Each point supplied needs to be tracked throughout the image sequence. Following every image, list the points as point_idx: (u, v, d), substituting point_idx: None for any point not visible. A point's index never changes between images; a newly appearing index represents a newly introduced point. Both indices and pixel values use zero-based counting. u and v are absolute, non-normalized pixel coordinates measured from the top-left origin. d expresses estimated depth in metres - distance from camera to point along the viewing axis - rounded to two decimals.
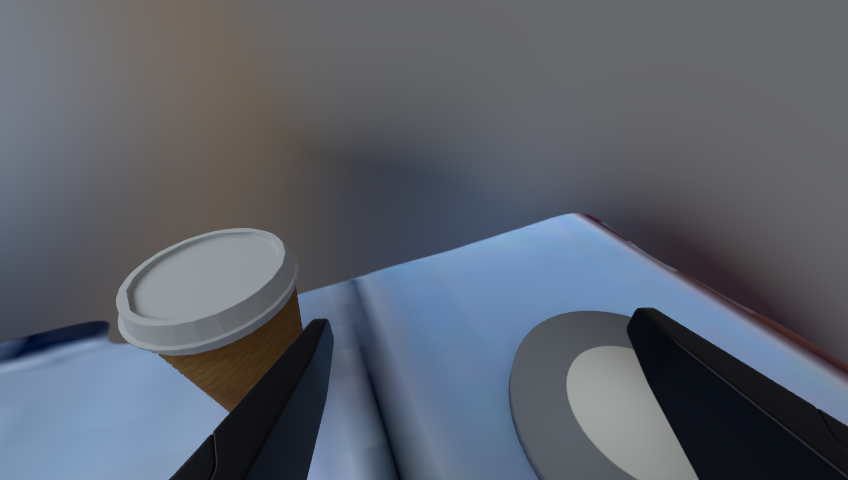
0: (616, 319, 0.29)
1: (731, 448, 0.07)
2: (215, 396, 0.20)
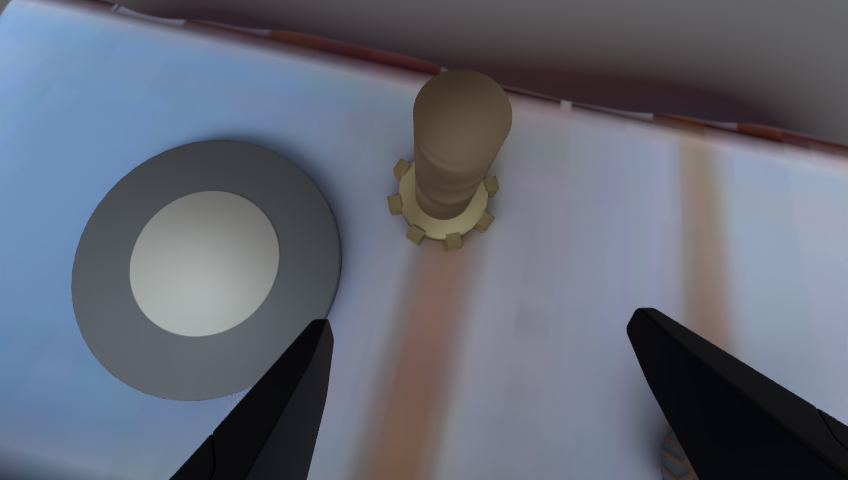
0: (145, 172, 0.23)
1: (731, 448, 0.07)
2: None
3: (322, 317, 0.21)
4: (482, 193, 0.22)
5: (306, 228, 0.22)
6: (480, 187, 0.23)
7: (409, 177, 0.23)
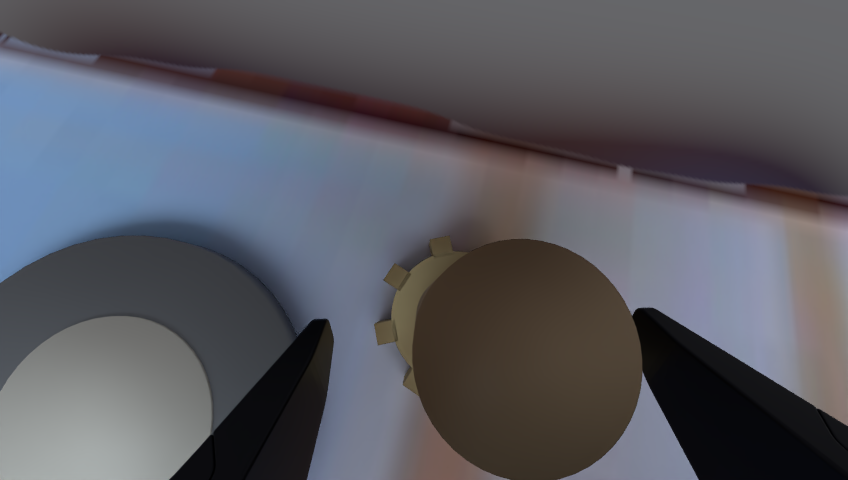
0: (19, 286, 0.15)
1: (731, 448, 0.07)
2: None
3: None
4: None
5: (254, 372, 0.15)
6: None
7: (407, 293, 0.15)
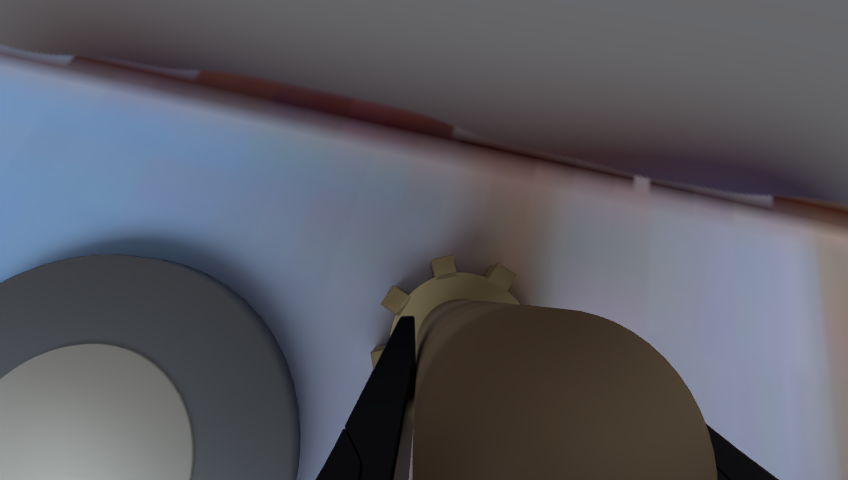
0: None
1: None
2: None
3: None
4: None
5: (239, 406, 0.14)
6: None
7: None
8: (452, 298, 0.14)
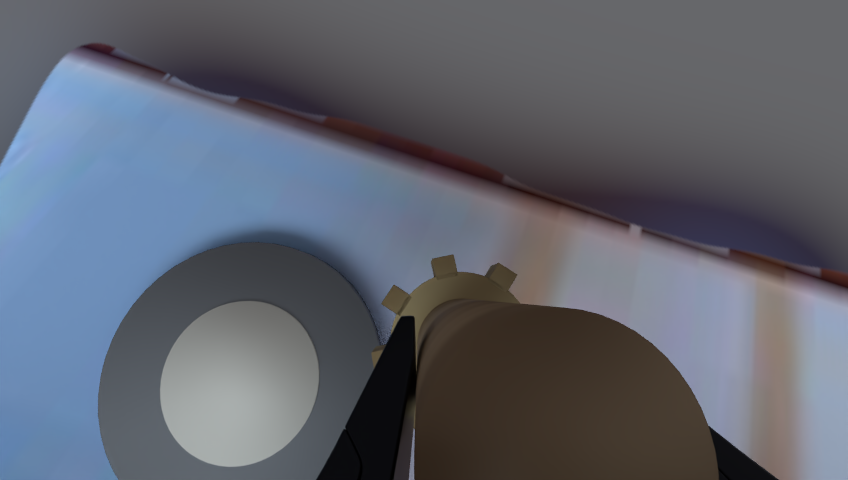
0: (184, 272, 0.21)
1: None
2: None
3: None
4: None
5: (349, 352, 0.21)
6: None
7: None
8: (453, 298, 0.14)
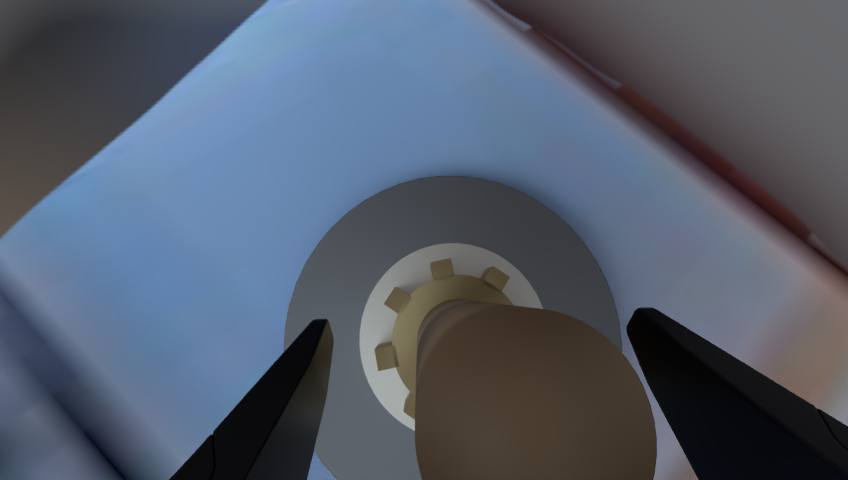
0: (429, 189, 0.18)
1: (731, 448, 0.07)
2: None
3: None
4: None
5: None
6: None
7: (407, 317, 0.15)
8: (450, 298, 0.15)
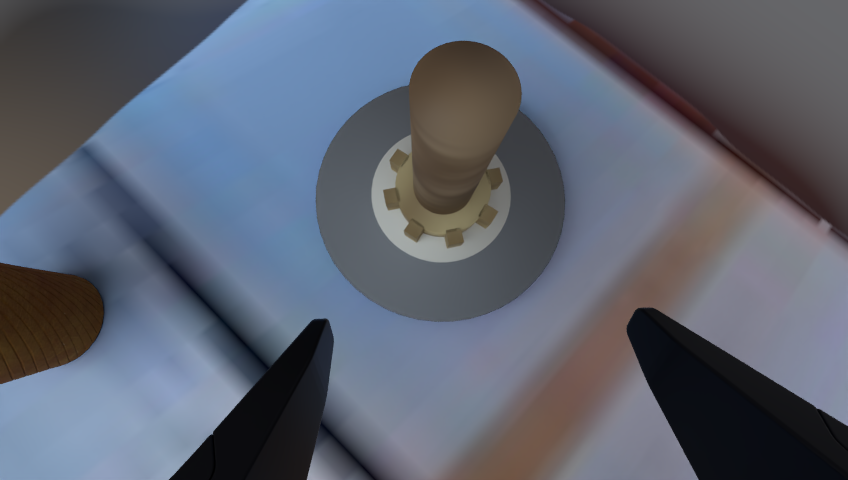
0: None
1: (731, 448, 0.07)
2: None
3: (516, 296, 0.22)
4: (485, 186, 0.21)
5: (537, 211, 0.23)
6: (483, 179, 0.21)
7: (406, 169, 0.21)
8: None
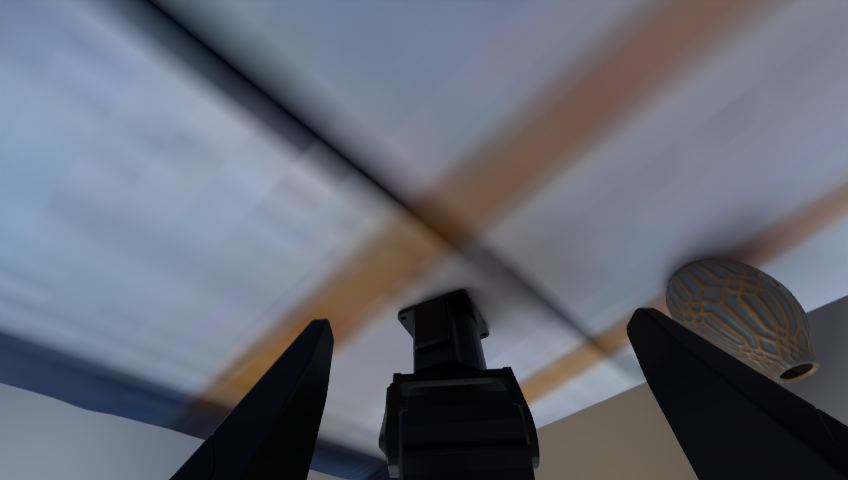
0: None
1: (731, 448, 0.07)
2: None
3: None
4: None
5: None
6: None
7: None
8: None
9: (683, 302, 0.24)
